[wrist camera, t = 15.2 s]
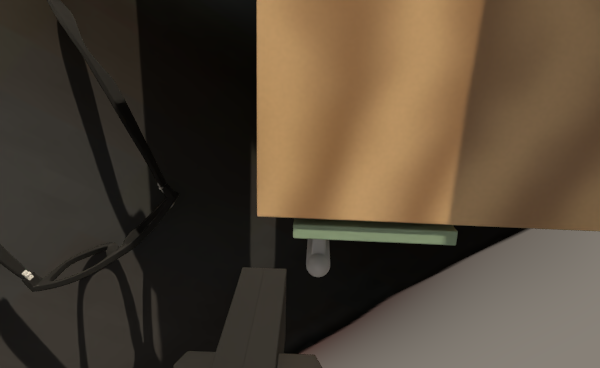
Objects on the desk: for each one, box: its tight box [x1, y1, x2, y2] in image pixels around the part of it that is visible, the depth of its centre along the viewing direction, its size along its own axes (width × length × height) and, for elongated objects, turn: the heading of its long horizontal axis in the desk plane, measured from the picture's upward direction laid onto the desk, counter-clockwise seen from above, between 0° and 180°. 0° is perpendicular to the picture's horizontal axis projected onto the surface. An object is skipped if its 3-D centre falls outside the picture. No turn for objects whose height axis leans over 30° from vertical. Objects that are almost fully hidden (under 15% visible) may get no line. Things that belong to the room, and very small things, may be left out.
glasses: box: [0, 0, 179, 292], centre depth 32 cm, size 16×18×5 cm
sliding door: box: [293, 218, 458, 277], centre depth 28 cm, size 8×4×11 cm, turn 88°
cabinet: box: [256, 0, 600, 231], centre depth 25 cm, size 18×12×12 cm, turn 88°
